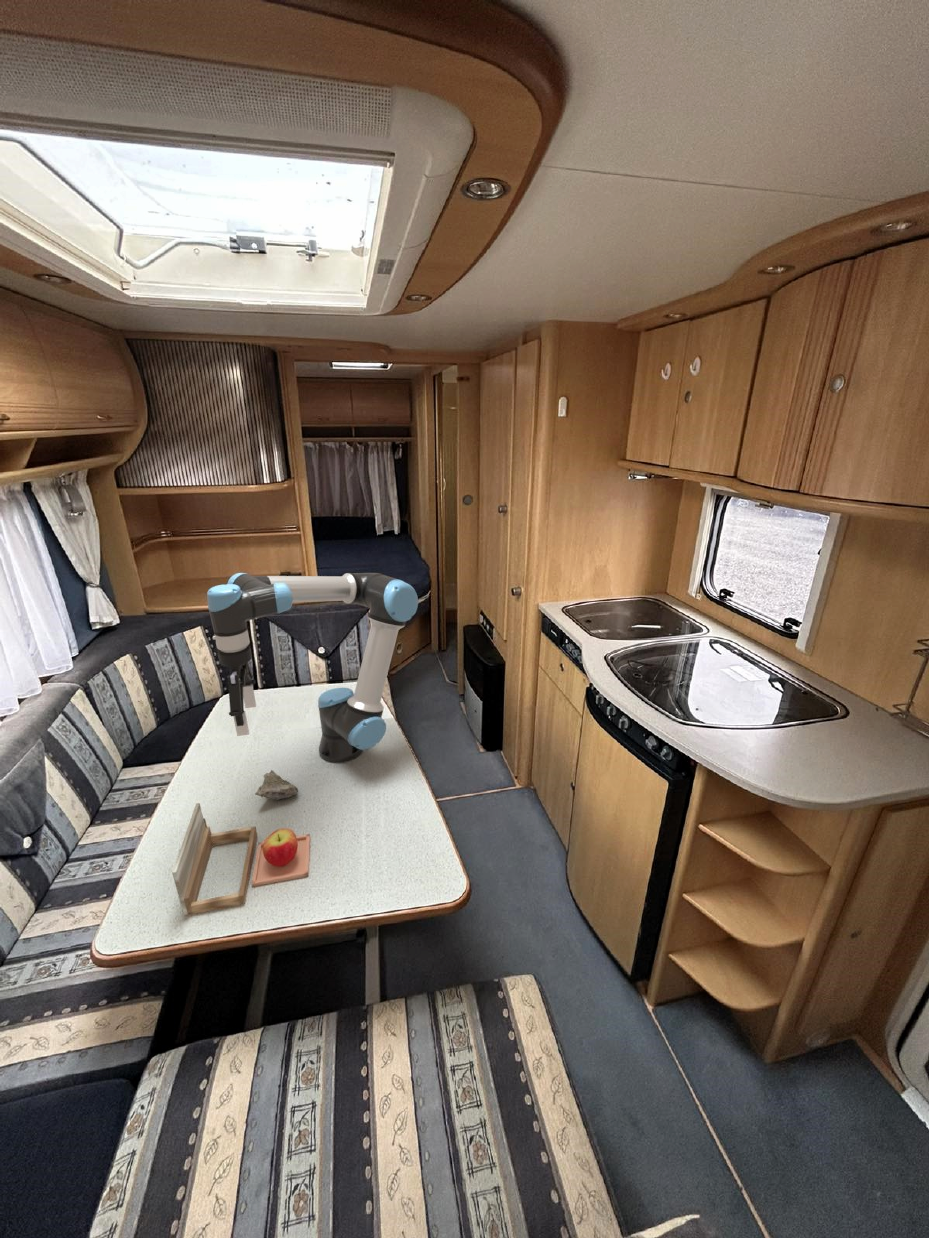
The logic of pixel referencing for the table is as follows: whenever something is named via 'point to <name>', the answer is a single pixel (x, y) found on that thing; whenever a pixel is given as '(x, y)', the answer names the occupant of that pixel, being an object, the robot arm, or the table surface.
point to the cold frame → (196, 859)
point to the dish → (290, 871)
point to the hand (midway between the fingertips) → (247, 720)
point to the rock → (276, 787)
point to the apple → (280, 847)
